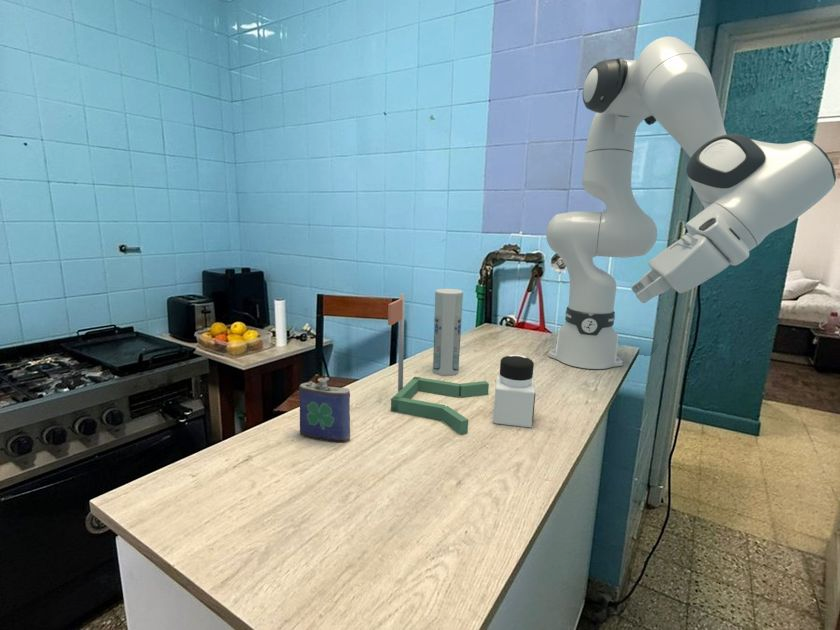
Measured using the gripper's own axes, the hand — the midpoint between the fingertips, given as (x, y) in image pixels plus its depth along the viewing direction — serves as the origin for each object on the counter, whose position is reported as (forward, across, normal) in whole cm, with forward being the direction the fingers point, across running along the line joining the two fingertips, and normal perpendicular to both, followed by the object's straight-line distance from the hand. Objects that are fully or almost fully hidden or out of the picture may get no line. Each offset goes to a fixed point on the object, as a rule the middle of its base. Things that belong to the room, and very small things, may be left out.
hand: (636, 295), depth 73 cm
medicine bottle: (+31, 0, +5) cm, 32 cm away
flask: (+52, +20, -15) cm, 57 cm away
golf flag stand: (+42, 0, -6) cm, 42 cm away
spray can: (+44, -19, -8) cm, 49 cm away
